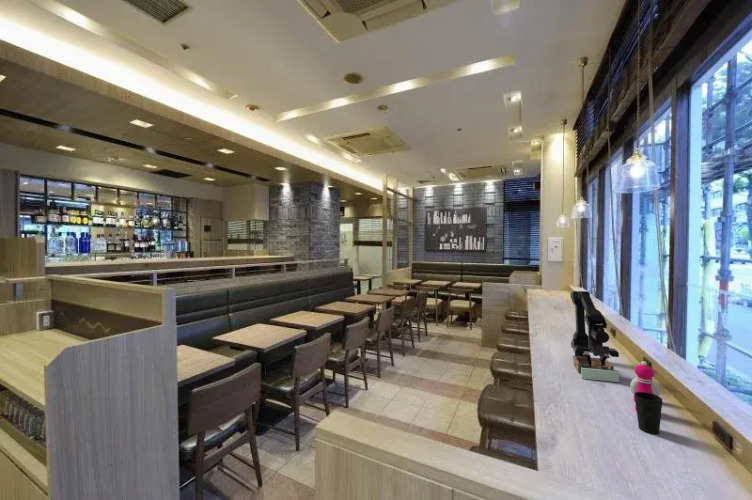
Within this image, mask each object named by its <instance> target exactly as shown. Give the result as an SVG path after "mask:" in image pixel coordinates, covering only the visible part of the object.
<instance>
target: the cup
mask: <svg viewBox="0 0 752 500" xmlns="http://www.w3.org/2000/svg"><path fill="white" fill-rule="evenodd" d="M634 395H635V402H634V404H635V405H636V410H637V411H636V410H635V411H636V415H637V416H636V417H637V423H638V429H639V430H640V431H642V432H643V433H645V434H650V435H659V434H660V429H661V428H660V427H661V420H662V419H661V418H662V407H663V399H662V397H661V396H660V395H659V396H657V395H655V394H651V393H647V392H636V393H635V394H633V396H634Z"/></svg>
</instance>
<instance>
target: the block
mask: <svg viewBox="0 0 752 500" xmlns="http://www.w3.org/2000/svg"><path fill="white" fill-rule="evenodd" d="M590 369H600V370H601V361H600V360H599V359H591V368H590Z"/></svg>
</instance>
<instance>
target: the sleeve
mask: <svg viewBox="0 0 752 500" xmlns="http://www.w3.org/2000/svg"><path fill="white" fill-rule="evenodd" d="M590 358H591V359H599V360H600V357H599V358H598V357H590ZM572 359H573V360H572V361H573V367H574V368H575V370H576V371H577V374H581V372H580V364H585V365H589V363H588V361H587V358H586V357H578V356H575V355H573V358H572ZM603 366H607V367H609V368H610V369H611V370H612V371H615V370H614V369H615V368H614V365H613V364H612V363H611V362H610V361H609V360H608V358H607V359H606V360H605V362H604V364H603Z"/></svg>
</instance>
